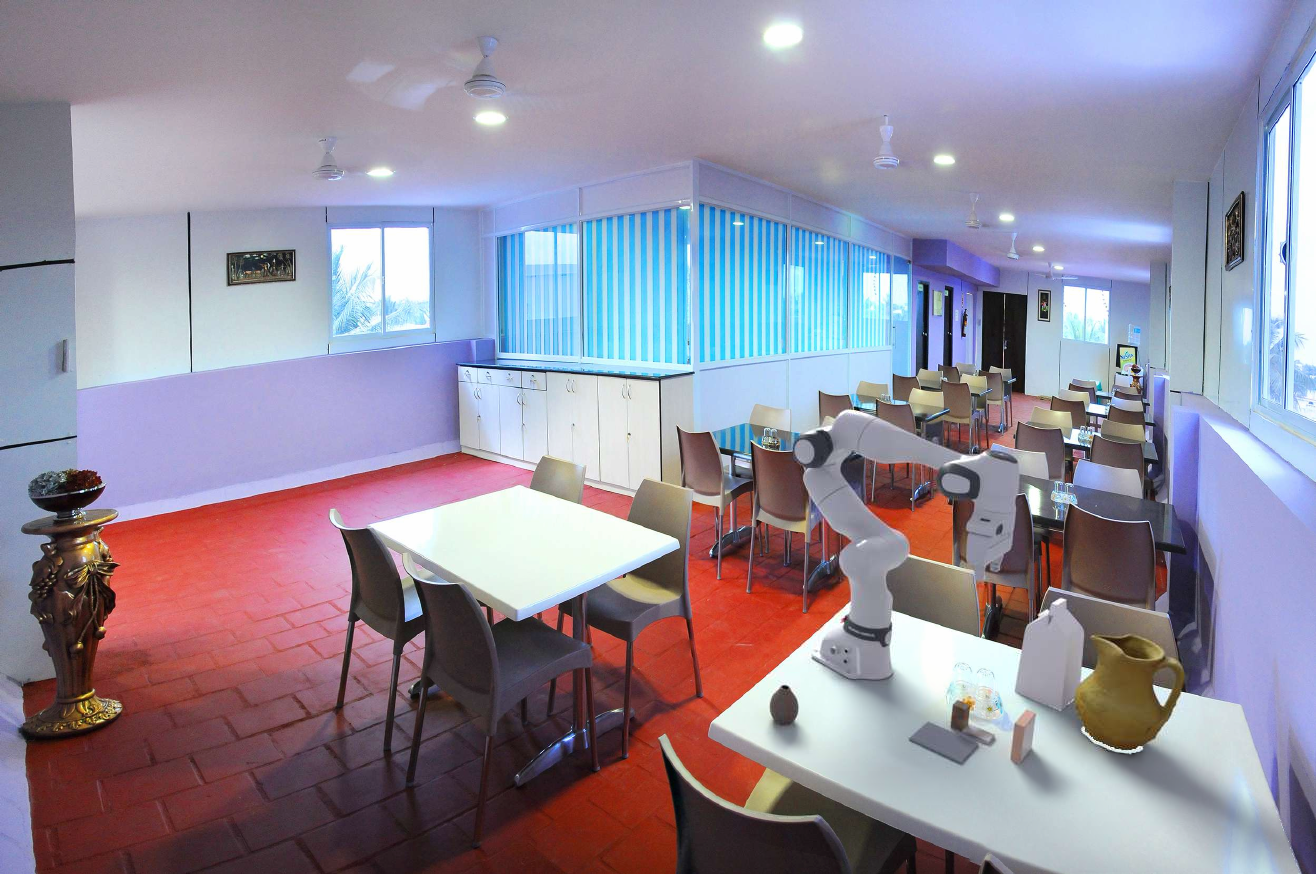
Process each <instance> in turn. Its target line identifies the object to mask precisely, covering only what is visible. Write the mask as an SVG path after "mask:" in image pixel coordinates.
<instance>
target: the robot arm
mask: <svg viewBox="0 0 1316 874" xmlns="http://www.w3.org/2000/svg"><path fill="white" fill-rule="evenodd" d="M792 443H793V444H792V455H793V458H794V460H795V461H796V463H797V464H799V465H800V466H801V467H803V468H804V469H805V468H806V469H805V472H804V473H803V475H802V476H803V477H802V480H803V483H804V486H805V488H806V491H807V492H808V494H809V497H810V498H811V500H812V501H813V503H814V504H815V506H816V508H817V509H818V510H819V512H820V513H821V515H823V516H822V517H824V519H825V520H826V522H827V524H829V526H830V527H831V529H832V530H834V531H835V532H837V533H839V534H842V535H843V536H844V537H846V538H847V539H849V540H850V541H851V542H849V543H848V544H847V545H846V546H845V547H844V548H843V549H842V550H841V551H840V553H839V557H838V562H839V567H840V569H841V572H842V573H843V574H844V575H845V576H846V577H847V579H848V582H849V586H850V607H849V611H848V614H845V615H844V616H843V617H842V618H841V619H840V624H842V623H843V624H842V625H841V626H839V627H836V628H833V629H832V630H830V631H828V632H827V633H826V634H825V635H824V636H823V638H822V640H821V643H820V644H819V645H817V646H815V648H814V649H813V650H812V654H811V658H812V659H814V660H815V661H817V662H819V663H821V664H823V665H824V666H825V667H828V668H829V669H832V670H834V671H835V672H837V673H838V674H840V675H842V676H844V677H846V678H847V679H849V680H858V679H859V680H860V679H862V680H883V679H887V678H889V677H890V676H891V675H893V672H894V669H893V666H892V659H891V642H892V638H893V637H892V636H893V622H892V613H893V601H894V599H893V594H892V593H891V592H890V591H889V589H888V586H887V581H886V579H887V574H888V572H889V571H891V570H893V569H896V568H898V567H899V566H901V565H902V564H903V563H904V562H905V561H906V559H907V558H908V556H909V554H910V552H911V551H910V550H911V547H910V542H909V539H908V538H907V536H906V535H904V533H902V532H901V531H899V530H896V529H894V528H892V527H890V526H889V525H888V524H886V523H885V522H884V521H883V520H881V519H880V518H879V517H878V516H876V514H874V513H873V512H872V511H871V510H870V509H869V508H868V507H867V506H866V505H865V504H864V502H863V501H862V500H861V498H860V497H859V496H858V494H857V493H856V492H855V490H854V489H853V488H852V487H851V485H850V484H849V482H848V481H847V480H846V479H845V477H844V475H843V474H842V472H841V468H842V467H846V466H847V465H848V464H849V462H850V460H851V458H852V457H853V456H854V455H855V453H856V454H857V455H860V456H862V457H864V458H866V459H868V460H870V461H873V462H877V463H881V464H884V465H885V464H899V463H901V464H903V463H905V464H906V463H909V464H911V463H914V464H921V465H924V466H927V467H929V468H932V469H935V470H937V471H936V474H935V485H936V487H937V490H938V491H939V493H940V494H941V495H942V496H943V497H945V498H947V499H948V500H952V501H972V502H973V504H974V507H973V508H974V509H973V512H972V515H971V517H970V519H969V520H968V521H967V523H966V525H965V526H966V527H965V530H966V532H968V535H967V539H966V548H965V549H966V553H965V555H966V556H965V557H966V563H967V565H969V566H972V567H973V568H974V571H975V581H976V582H980V583H983V582H985V581H986V576H987V574H986V568H987V566H988V565H989V564H990V565H989V566H990V568H989V570H990V571H991V572H994V573H997V572H999V571H1000V570H1001V564H1002V561H1003V559H1004V555H1005V554H1006V553H1007V552H1010V550H1011V549H1012V548H1013V547H1012V546H1013V537H1014V529H1015V523H1016V513H1017V506H1016V500H1017V499H1016V498H1017V497H1018V495H1019V490H1020V466H1019V461H1018V459H1017V458H1015V457H1014V456H1013V455H1012V454H1010V453H1007V452H1004V451H1000V450H998V451H997V450H991V449H990V450H984V451H983V452H981V453H980V454H979V453H978V454H975V453H974V454H973V453H971V454H969V453H963V452H960V451H956V450H954V449H951V448H949V447H946V446H944V445H941V444H939V443H937V442H933V441H931V440H928V439H926V438H922V437H920V436H918V435H916V434H914V433H911V432H910V431H907V430H905V429H903V428H901V427H899V426H897V425H894V424H892V423H890V422H889V421H886V420H884V419H882V418H879V417H877V416H875V415H872V414H870V413H866V412H863V411H859V410H853V409H845V410H842V411H841V412H840V413H839V414H838V415H837V416H836V417H835V419H834V421H833V423H832V425H824V426H823V425H822V426H820V427H817V428H815V429H812V430H811V429H810V430H806V431H804V432H803V433H801V434H800V435H798V436H797V437H796V438H795V440H793V442H792Z"/></svg>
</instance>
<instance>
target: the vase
mask: <svg viewBox="0 0 1316 874" xmlns="http://www.w3.org/2000/svg"><path fill="white" fill-rule="evenodd" d="M799 708H800V707H799V701H798V698H797V696H796V695H795V694H794V692H793V691H792V688H791V687H790V685H787V684H781V685H780V687H779V688H778V689H777V690H776V691H775V692H774V693H773V694H772V696H771V698H770V701H769V712H770V715H771V718H772V719H773V720H774V722H776V723H777V724H779V725H782V726H786V725H787V726H788V725H790V724H792V723H794V722H795V720H796V719H797V717H798V715H799Z"/></svg>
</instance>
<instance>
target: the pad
mask: <svg viewBox="0 0 1316 874" xmlns="http://www.w3.org/2000/svg"><path fill="white" fill-rule="evenodd" d="M908 740H909V741H910V742H912V743H915V744H917V745H919V746H921V747H923V748H925V749H928V750H930V751H932V752H934V753H937V754H938V755H941V756H943V757H945V758H947V759H949V760H951V761H954V762H955V763H958V764H959V765H962V764H963V763H964V762H965V761H966V759H967V758H968V757H969V756H970V755H971V754H972V753H973V752H974V751H975V750H976V749H977V747H978V746H979V742H978V741H977V742H976V741H975V740H972V739H970V738H967V737H965V736H962V735H960V734H958V733H955V732H953V731H951V730H949V729H947V728H944V727H943V726H940V725H937V724H935V723H932V722H930V721H927V722H926V723H924V724H923V725H922V726H921V727H920V728H919V729H917V731H915V732H914V734H912V735H911V736H910V737H909V739H908Z"/></svg>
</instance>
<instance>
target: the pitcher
mask: <svg viewBox="0 0 1316 874" xmlns="http://www.w3.org/2000/svg"><path fill="white" fill-rule="evenodd" d="M1089 639H1090V640H1091V642H1092V643H1093V644H1094V646H1095V648H1096V651H1097V663H1096V666H1095V668H1094V670H1093V671H1092V672H1091V673H1090V675H1088V676H1087V677H1086V678H1084V679H1083V680H1082V681H1081V683H1080V684H1079V686H1078V687H1077V689H1076V692H1075V698H1074V701H1073V702H1074V708H1075V709H1076V712H1075V713H1076V715H1077V716H1078V717H1079V718H1080V721H1081V722H1082V723H1083V725H1084V727H1085V732H1087V733H1089V735H1090V736H1091V737H1093V739H1094V740H1096V741H1099V742H1102V743H1103V744H1106V745H1108V746H1110V747H1114V748H1115V749H1121V750H1132V749H1136V748H1137V747H1138V746H1143V747H1144V745H1147V743H1149V742H1151V741H1153V740H1155V739H1156V738H1157V735H1158V734H1159V732H1161V729H1162V728H1163V727H1164V726H1165V724H1166V723H1167V722H1168V721H1169V720H1170V718H1171V717H1172V713H1173V711H1174V708H1175V707H1176V706H1177V701H1178V700H1179V697H1180V696H1181V695H1182V689H1183V686H1184V682H1185V671H1184V667H1183V665H1182V664H1181V662H1180V661H1178V660H1177V659H1175V658H1174V657H1169V656H1166V653H1165V650H1164V649H1163V648H1162V647H1161V646H1159V645H1157V644H1156V643H1155V642H1153V641H1150V640H1148V639H1147V638H1144V637H1141V636H1138V635H1136V634H1133V633H1129V634H1126V635H1123V636H1111V635H1103V634H1101V635H1100V634H1095V635H1091V636H1090V638H1089ZM1167 667H1168V668H1169V669H1171V670H1172V671H1173V673H1174V675H1175V680H1174V683H1173V686H1172V689H1171V691H1170V694H1169V695H1168V697H1167V699H1166V701H1165V703H1164V705H1162V704H1161V702H1160V700H1159V699H1158V697H1157V695H1156V692H1155V690H1154V675H1155V673H1156V672H1157V671H1159V670H1162V669H1165V668H1167Z"/></svg>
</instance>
